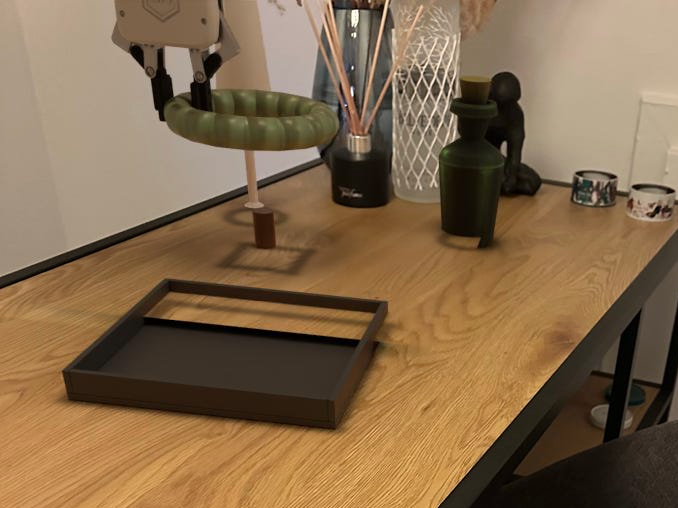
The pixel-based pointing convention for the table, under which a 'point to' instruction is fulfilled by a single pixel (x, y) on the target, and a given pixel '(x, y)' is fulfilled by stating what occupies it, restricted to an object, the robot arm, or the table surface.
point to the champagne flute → (245, 69)
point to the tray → (226, 361)
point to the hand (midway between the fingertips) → (185, 119)
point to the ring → (253, 120)
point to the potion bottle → (471, 166)
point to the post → (264, 228)
